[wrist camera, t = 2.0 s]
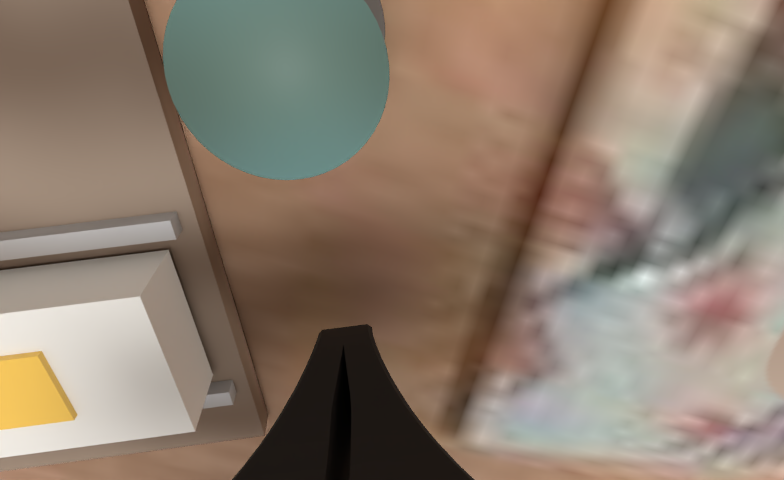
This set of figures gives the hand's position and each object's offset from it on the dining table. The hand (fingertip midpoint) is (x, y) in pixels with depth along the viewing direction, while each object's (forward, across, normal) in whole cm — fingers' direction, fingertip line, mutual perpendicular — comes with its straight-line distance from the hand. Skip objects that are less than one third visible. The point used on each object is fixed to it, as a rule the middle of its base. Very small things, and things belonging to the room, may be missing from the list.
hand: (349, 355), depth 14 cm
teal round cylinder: (+4, 0, -8) cm, 9 cm away
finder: (+3, +8, 0) cm, 9 cm away
